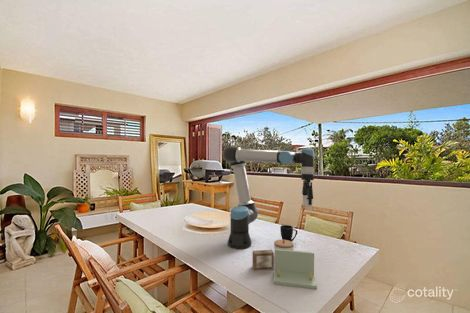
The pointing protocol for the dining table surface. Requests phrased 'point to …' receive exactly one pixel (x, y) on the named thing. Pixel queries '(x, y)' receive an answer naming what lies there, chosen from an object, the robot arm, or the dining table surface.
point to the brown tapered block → (263, 259)
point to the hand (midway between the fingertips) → (307, 207)
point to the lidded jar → (283, 244)
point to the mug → (287, 232)
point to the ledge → (294, 268)
